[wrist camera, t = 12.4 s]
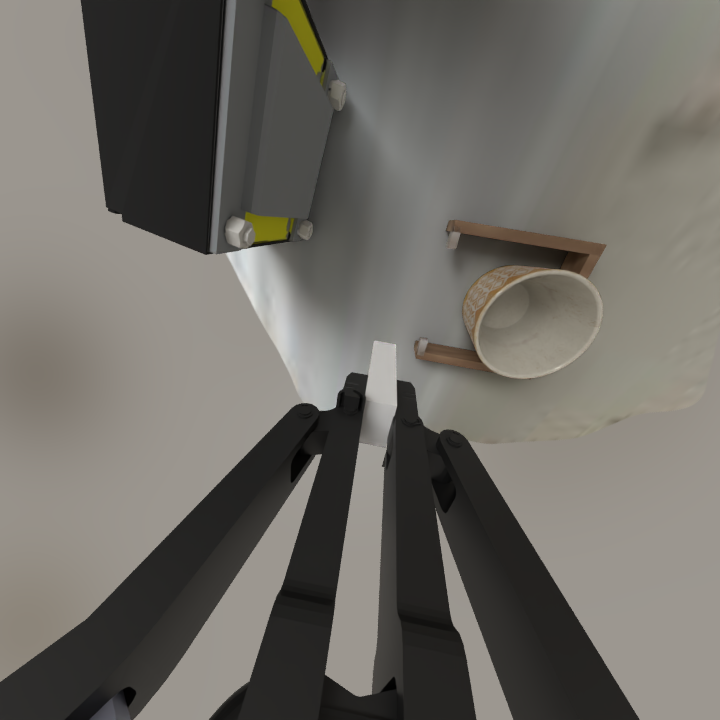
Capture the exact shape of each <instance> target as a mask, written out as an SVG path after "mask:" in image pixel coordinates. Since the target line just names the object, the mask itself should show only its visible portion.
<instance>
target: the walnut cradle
mask: <svg viewBox="0 0 720 720" xmlns="http://www.w3.org/2000/svg"><path fill="white" fill-rule="evenodd" d="M446 231H450V234H449V238H448V241H447V245H446V248H450V249H456V247H457V244H458V240H459V237H460V234H461V233H462V234H468V235H474V236H480V237H486V238H492V239H498V240H504V241H510V242H516V243H522V244H528V245H534V246H541V247H547V248H553V249H559V250H565V251H569V252H568V254H567V256H566V258H565V260H564V262H563V264H562V266H561V268H560V270H567V271H571V272H575V273H577V274H580V275H582V276H583V277H585V278H587V279H588V277H589V275H590V274H591V272H592V270H593V268H594V267H595V265H596V263H597V261H598V259H599V258H600V256H601V254H602V252H603V251H604V249H605V247H606V245H605V244H599V243H593V242H587V241H581V240H574V239H568V238H562V237H556V236H550V235H544V234H538V233H532V232H526V231H520V230H513V229H507V228H501V227H495V226H489V225H483V224H477V223H471V222H465V221H459V220H450V221H449V222H448V226H447V229H446ZM414 351H415V357H416V359H422V360H427V361H433V362H438V363H444V364H449V365H455V366H460V367H466V368H471V369H477V370H482V371H487V372H493V371H492V370H490V369H489V368H488V367H487V366H486V365H485V364H484V363H483V362H482V361H481V359H480V358H479V356H478V354H477V352H476V351H471V350H465V349H460V348H454V347H449V346H443V345H438V344H432V343H428V340H427V338H422V337H420V340H419V341H415V345H414ZM493 373H495V372H493ZM529 379H531V378H529Z"/></svg>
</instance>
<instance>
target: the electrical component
mask: <svg viewBox="0 0 720 720" xmlns="http://www.w3.org/2000/svg"><path fill="white" fill-rule="evenodd" d="M81 6H82V13H83V22H84V30H85V38H86V46H87V54H88V62H89V71H90V79H91V87H92V95H93V103H94V111H95V120H96V128H97V136H98V143H99V151H100V160H101V168H102V176H103V183H104V184H103V185H104V193H105V200H106V207H107V208H108V211H110V212H112V213H116V214H122V221H123V222H126V223H128V224H130V225H133V226H136V227H138V228H141V229H143V230H145V231H148V232H151V233H153V234H156V235H158V236H160V237H163V238H165V239H168V240H170V241H173V242H175V243H178V244H180V245H183V246H185V247H188V248H190V249H193V250H195V251H198V252H200V253H203V254H205V255H207V254H213V253H214V254H221V253H227V252H233V251H239V250H241V249H247V248H252V247H258V246H264V245H271V244H277V243H283V242H290V241H292V242H294V241H300V240H301V238H303V239H305V240H308V239H310V237H311V235H312V232H313V225H312V223H311V222H309V221H307V220H306V219H308V217H309V213H310V209H311V205H312V200H313V196H314V192H315V188H316V183H317V179H318V175H319V170H320V166H321V162H322V158H323V153H324V149H325V145H326V141H327V136H328V132H329V128H330V124H331V119H332V115H333V111H334V109H335V110H338V111H340V110H341V109H342V108H343V106H344V103H345V99H346V84H345V83H343V82H341V81H339V80H338V77H337V74H336V71H335V69H334V66H333V63H332V61H331V60H328V57H327V55H326V52H325V50H324V47H323V45H322V42H321V39H320V37H319V34H318V32H317V29H316V27H315V24H314V22H313V19H312V17H311V14H310V11H309V9H308V6H307V4H306V1H305V0H81Z"/></svg>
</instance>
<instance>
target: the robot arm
mask: <svg viewBox="0 0 720 720" xmlns="http://www.w3.org/2000/svg"><path fill="white" fill-rule="evenodd" d="M359 442H360V443H365V444H370V445H375V446H381V447H386V444H387V451H386V454H385V458H384V461H383V465H382V467H385V468H384V491H383V492H384V493H383V518H382V540H381V541H382V542H381V565H380V566H381V567H380V591H379V616H378V638H377V650H376V655H375V661H374V670H373V684H372V695H367V696H363V697H358V696H355V695H353V694H352V693H350V692H349V691H348V690H346V689H345V688H343V687H342V686H340V685H339V684H338V683H336V682H335V681H333V680H332V679H330V678H329V677H327V676H326V675H325V669H326V663H327V656H328V649H329V642H330V636H331V629H332V622H333V615H334V608H335V597H336V591H337V584H338V577H339V570H340V564H341V558H342V551H343V544H344V538H345V531H346V524H347V518H348V511H349V505H350V498H351V492H352V485H353V479H354V472H355V465H356V459H357V452H358V445H359ZM317 454H322V456H321V460H320V463H319V466H318V470H317V473H316V476H315V480H314V483H313V486H312V490H311V493H310V496H309V499H308V503H307V506H306V509H305V513H304V516H303V519H302V523H301V526H300V529H299V533H298V536H297V540H296V543H295V546H294V549H293V553H292V556H291V559H290V563H289V566H288V569H287V572H286V576H285V579H284V582H283V585H282V588H281V590H280V592H279V593H278V595H277V597H276V600H275V602H274V605H273V608H272V611H271V614H270V617H269V621H268V624H267V627H266V630H265V634H264V637H263V640H262V643H261V646H260V650H259V653H258V656H257V659H256V662H255V665H254V669H253V672H252V675H251V678H250V682H248V683H246V684H245V685H244V686H242V687H241V688H240V689H238V690H237V691H236V692H234V693H233V695H231V696H230V697H229V698H228V699H227V700H226V701H225V702H224V703H223V704H222V705H221V706H220V707H219V709H218V710H217V711H216V712H215V713H214V714H213V715H212V717H211V718H210V719H209V720H476V714H475V709H474V703H473V696H472V690H471V684H470V678H469V672H468V666H467V660H466V655H465V650H464V645H463V643H462V639H461V637H460V634H459V632H458V631H457V630H456V629H455V627H454V626H453V623H452V620H451V616H450V610H449V602H448V596H447V589H446V582H445V574H444V567H443V560H442V553H441V546H440V539H439V532H438V525H437V518H436V511H437V513H438V516H439V519H440V522H441V525H442V527H443V530H444V533H445V535H446V538H447V541H448V543H449V546H450V549H451V552H452V554H453V557H454V560H455V562H456V565H457V568H458V571H459V573H460V576H461V579H462V581H463V584H464V587H465V590H466V592H467V595H468V597H469V600H470V603H471V606H472V608H473V611H474V614H475V617H476V619H477V622H478V625H479V627H480V630H481V632H482V635H483V638H484V641H485V643H486V646H487V649H488V652H489V654H490V657H491V660H492V663H493V665H494V668H495V671H496V673H497V676H498V679H499V681H500V684H501V687H502V690H503V692H504V695H505V698H506V701H507V703H508V706H509V709H510V711H511V714H512V717H513V720H639V718H638V716H637V715H636V713H635V711H634V710H633V708H632V707H631V705H630V703H629V702H628V700H627V699H626V697H625V695H624V694H623V692H622V690H621V689H620V687H619V685H618V684H617V682H616V681H615V679H614V678H613V676H612V674H611V673H610V671H609V669H608V668H607V666H606V664H605V663H604V661H603V659H602V658H601V656H600V655H599V653H598V651H597V650H596V648H595V647H594V645H593V643H592V642H591V640H590V638H589V637H588V635H587V633H586V632H585V630H584V629H583V627H582V625H581V624H580V622H579V620H578V619H577V617H576V616H575V614H574V612H573V611H572V609H571V608H570V606H569V605H568V603H567V601H566V599H565V598H564V596H563V595H562V593H561V591H560V590H559V588H558V586H557V585H556V583H555V582H554V580H553V578H552V577H551V575H550V573H549V572H548V570H547V569H546V567H545V565H544V564H543V562H542V560H541V559H540V558H539V556H538V554H537V552H536V551H535V549H534V547H533V546H532V544H531V543H530V541H529V539H528V538H527V536H526V534H525V533H524V531H523V530H522V528H521V526H520V525H519V523H518V521H517V520H516V518H515V517H514V515H513V513H512V512H511V510H510V508H509V507H508V505H507V504H506V502H505V500H504V499H503V497H502V495H501V494H500V492H499V491H498V489H497V487H496V486H495V484H494V482H493V481H492V479H491V478H490V476H489V474H488V473H487V471H486V469H485V468H484V466H483V465H482V463H481V461H480V460H479V458H478V456H477V455H476V453H475V452H474V450H473V449H472V447H471V445H470V443H469V442H468V440H467V439H466V438H465V437H464V436H463V435H462V434H460V433H458V432H456V431H454V430H443V431H442V432H440V434H438V433H436V432H434V431H431V430H430V429H428V428H426V427H425V426H424V425H423V422H422V420H421V419H420V418H419V417H418V410H417V402H416V395H415V388H414V387H413V385H412V384H411V383H410V382H405V381H399V380H397V375H396V344H391V343H386V342H380V341H375V340H374V344H373V349H372V355H371V360H370V365H369V371H368V375H364V374H358V373H353V372H352V373H350V374H349V375H348V376H347V378H346V381H345V385H344V388H343V389H342V390H341V391H340V392H339V393H338V397H337V405H336V407H335V408H334V409H332V410H328V411H319V410H318V408H317V407H316V406H314V405H312V404H308V403H301V404H298V405H296V406H294V407H293V408H292V409H290V411H289V412H288V413H287V414H286V415H285V416H284V417H283V418H282V419H281V420H280V421H279V422H278V423H277V424H276V425H275V426H274V427H273V428H272V429H271V430H270V431H269V432H268V433H267V434H266V435H265V436H264V437H263V438H262V439H261V440H260V441H259V442H258V444H256V446H255V447H254V448H253V449H252V450H251V451H250V452H249V453H248V454H247V455H246V456H245V457H244V458H243V459H242V460H241V461H240V462H239V463H238V464H237V465H236V466H235V467H234V468H233V469H232V470H231V471H230V472H229V473H228V474H227V475H226V476H225V478H223V479H222V480H221V482H220V483H219V484H218V485H217V486H216V487H215V488H214V489H213V490H212V491H211V492H210V493H209V494H208V495H207V496H206V497H205V498H204V499H203V500H202V501H201V502H200V503H199V504H198V505H197V506H196V507H195V508H194V509H193V510H192V511H191V512H190V513H189V515H187V516H186V518H185V519H184V520H183V521H182V522H181V523H180V524H179V525H178V526H177V527H176V528H175V529H174V530H173V531H172V532H171V533H170V534H169V535H168V536H167V537H166V538H165V539H164V540H163V541H162V542H161V543H160V544H159V545H158V546H157V547H156V548H155V549H154V550H153V551H152V553H151V554H150V555H149V556H148V557H147V558H146V559H145V560H144V561H143V562H142V563H141V564H140V565H139V566H138V567H137V568H136V569H135V570H134V571H133V572H132V573H131V574H130V575H129V576H128V577H127V578H126V579H125V580H124V581H123V582H122V583H121V584H120V585H119V586H118V587H117V589H116V590H115V591H114V592H113V593H112V594H111V595H110V596H109V597H108V598H107V599H106V600H105V601H104V602H103V603H102V604H101V605H100V606H99V607H98V608H97V609H96V610H95V611H94V612H93V613H92V614H91V615H90V616H89V617H88V618H87V619H86V620H85V621H83V622H82V623H81V624H79V625H78V626H76V627H75V628H74V629H72V630H71V631H70V632H68V633H67V634H65V635H64V636H63V637H61V638H60V639H59V640H57V641H56V642H55V643H53V644H52V645H50V646H49V647H48V648H46V649H45V650H44V651H42V652H41V653H40V654H38V655H37V656H35V657H34V658H33V659H31V660H30V661H29V662H27V663H26V664H25V665H23V666H22V667H20V668H19V669H18V670H16V671H15V672H13V673H12V674H11V675H9V676H8V677H7V678H5V679H4V680H3V681H1V682H0V720H133V719H134V718H135V717H136V716H137V715H138V714H139V713H140V712H141V711H142V709H143V708H144V707H145V706H146V704H147V703H148V702H149V701H150V699H151V698H152V697H153V696H154V694H155V693H156V692H157V691H158V690H159V688H160V687H161V686H162V685H163V683H164V682H165V681H166V679H167V678H168V677H169V675H170V674H171V672H172V671H173V670H174V668H175V667H176V665H177V664H178V662H179V661H180V660H181V658H182V657H183V655H184V654H185V653H186V651H187V650H188V648H189V646H190V645H191V643H192V642H193V640H194V639H195V637H196V636H197V634H198V633H199V631H200V630H201V628H202V627H203V625H204V624H205V622H206V621H207V619H208V618H209V616H210V615H211V613H212V611H213V610H214V609H215V607H216V605H217V604H218V603H219V601H220V599H221V598H222V596H223V595H224V594H225V592H226V590H227V589H228V587H229V586H230V584H231V583H232V581H233V580H234V578H235V577H236V575H237V574H238V572H239V571H240V569H241V568H242V566H243V565H244V563H245V562H246V560H247V559H248V557H249V556H250V554H251V553H252V551H253V550H254V548H255V547H256V545H257V543H258V542H259V541H260V539H261V537H262V536H263V534H264V533H265V531H266V530H267V528H268V527H269V525H270V524H271V522H272V521H273V519H274V518H275V516H276V515H277V513H278V512H279V510H280V509H281V507H282V506H283V504H284V503H285V501H286V500H287V498H288V497H289V495H290V494H291V492H292V491H293V489H294V487H295V486H296V484H297V483H298V481H299V480H300V478H301V477H302V475H303V474H304V472H305V471H306V469H307V468H308V466H309V465H310V463H311V462H312V460H313V459H314V457H315V455H317ZM435 508H436V510H435Z"/></svg>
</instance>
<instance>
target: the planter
mask: <svg viewBox="0 0 720 720" xmlns="http://www.w3.org/2000/svg"><path fill="white" fill-rule="evenodd" d="M462 315H463V320H464V323H465V326H466V328H467V330H468V333H469V335H470V337H471V340H472V342H473V345H474V347H475V349H476V352H477V354H478V356H479V358H480V359H481V361H482V362H483V363H484V364H485V365H486V366H487V367H488V368H489V369H490V370H492V371H493V372H495V373H497V374H499V375H502V376H505V377H509V378H516V379H529V378H536V377H541V376H545V375H548V374H551V373H553V372H556V371H558V370H560V369H562V368H564V367H565V366H567V365H569V364H570V363H572V362H573V361H574V360H576V359H577V358H578V357H579V356H580V355H582V354H583V353H584V352H585V350H586V349H587V348H588V347H589V346H590V344H591V343H592V342H593V340H594V339H595V337H596V335H597V333H598V331H599V329H600V326H601V322H602V318H603V303H602V299H601V296H600V294H599V292H598V290H597V288H596V287H595V286H594V285H593V284H592V283H591V282H590V281H589V280H588V279H587V278H585V277H583V276H582V275H580V274H577V273H575V272H571V271H567V270H559V269H549V268H539V267H529V266H519V265H508V266H503V267H499V268H496V269H493V270H491V271H489V272H487V273H486V274H484V275H483V276H481V277H480V278H479V279H478V280H477V281H476V282H475V283H474V284H473V285H472V286H471V288H470V289H469V291H468V292H467V294H466V297H465V299H464V302H463V308H462Z"/></svg>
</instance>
